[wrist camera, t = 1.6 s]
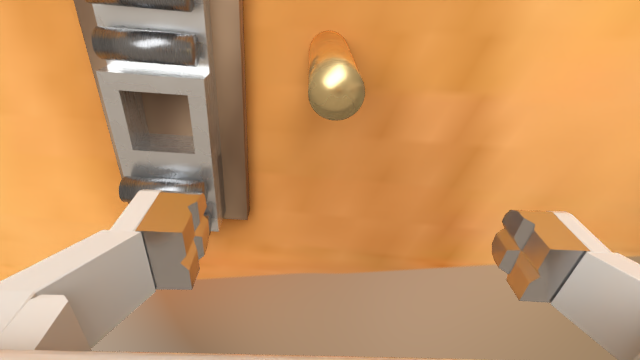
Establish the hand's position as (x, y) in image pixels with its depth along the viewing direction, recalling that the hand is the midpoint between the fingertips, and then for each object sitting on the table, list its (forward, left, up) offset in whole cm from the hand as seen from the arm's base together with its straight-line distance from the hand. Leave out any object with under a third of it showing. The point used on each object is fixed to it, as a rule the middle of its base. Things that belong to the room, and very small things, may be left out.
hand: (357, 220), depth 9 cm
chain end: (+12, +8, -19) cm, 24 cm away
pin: (0, 0, -21) cm, 21 cm away
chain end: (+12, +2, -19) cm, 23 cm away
